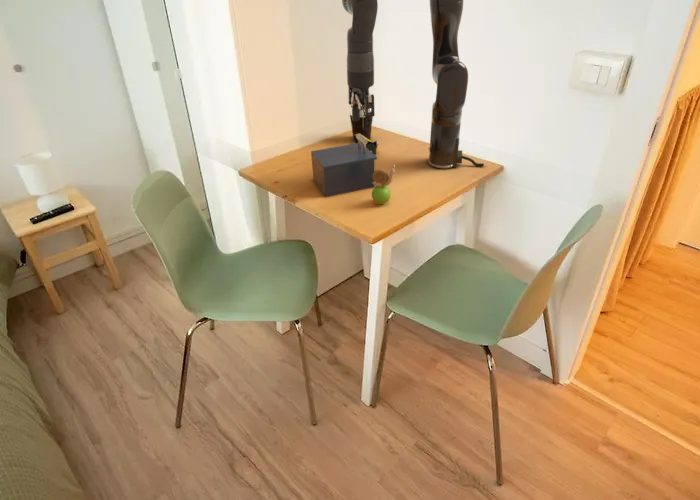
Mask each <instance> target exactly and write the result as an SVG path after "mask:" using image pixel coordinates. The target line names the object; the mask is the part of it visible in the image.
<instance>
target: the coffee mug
mask: <svg viewBox="0 0 700 500" xmlns="http://www.w3.org/2000/svg"><path fill="white" fill-rule="evenodd" d="M364 111H365V110H364ZM373 118H374V116H372V117H371V129H370V130H364V129H363V116H362V111H361V110H360V120H359V121H353V120H352V111H350V112H349V119H350V126H351V133H352V137H353V136H354V135H356V134H359V133H360V134H361V135H363V136H364V137H365V138H367V139H368V140H370V141H371V136H372V127H373V120H374V119H373Z"/></svg>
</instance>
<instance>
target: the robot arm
mask: <svg viewBox="0 0 700 500" xmlns="http://www.w3.org/2000/svg"><path fill="white" fill-rule="evenodd" d="M378 2H379V1H378V0H341V4H342V8H343V9H344V11H345V12H346V13H348V14H349V15H352V20H351V27H349V28H348V29H347V33H346V52H347V54H346V77H347V78H346V81H347V82H346V83H347V87H348V88H347V89H348V105H350V109H351V112H352V120H353V121H359V120H360V110H361V111H362V116H363V129H364V130H370V129H371V130H372V128H371V117H372V116H373V117H375V95H374V94H373V93H372V94H371V93H370V88H371V87H374V85H375V55H374V31H375V27H376V22H377V16H378V9H379V7H378V6H379V3H378ZM463 11H464V0H429V12H430V25H431V33H432V47H433V48H432V61H431V62H432V63H431V64H432V65H431V75H432V76H431V77H432V79H433V81H434V84H436V94H435V100H434V102H433V103H432V105H431V106H432V107H431V108H432V109H431V119H430V120H431V122H430V137H429V147H428V162H427V163H428V165H429V166H431V167H432V168H435V169H444V170H445V169H451V168H457V165H458V164H462V163H463V160H466V161H468V162H471V164H472V165H473V166H476V167H484V165H485V164H484V163H481V162H480V163H479V162H476V161H475V160H474V159H472V158H471V157H468V156H465V155H463V150H460V149H459V146H460V135H461V134H460V133H461V123H462V114H463V108H464V106H465V104H466V98H467V92H468V83H469V70H468V68H467V66H466V65H465V64H464V63H463V61H461V60H460V55H459V44H458V37H459V35H458V34H459V31H460V25H461V22H462V16H463ZM364 110H365V111H364Z"/></svg>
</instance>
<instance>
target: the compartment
mask: <svg viewBox="0 0 700 500" xmlns="http://www.w3.org/2000/svg"><path fill="white" fill-rule="evenodd" d="M310 155H311V157H310V158H311V167H312V180H313V181H314V183H315V184H316V186H317V187H318V188H319V190H320V191H321V192H322V194H323V195H324V196H325V198H327V197H332V196H338V195H343V194H346V193H352V192H357V191H362V190H366V189H371V188H372V189H373V188H375V187H376V186H375V185H374V184H373V183H372V182H375V181H374V180H373V177H372V175H373V173H374V172H375V160H371V161H365V162H360V163H355V164H349V165H344V166H339V167H334V168H328V169H323V167H322V166H321V165H320V164H319V162H318V161H317V160H316V159H315V158H314V156H313V155H312V154H311V153H310Z"/></svg>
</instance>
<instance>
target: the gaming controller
mask: <svg viewBox="0 0 700 500" xmlns="http://www.w3.org/2000/svg"><path fill="white" fill-rule="evenodd" d="M356 135H357V134H356ZM356 135H354V136H353V135H352V140H353V142H354V144H355V143H358V139H357V138H356ZM362 136H363V135H362ZM366 139H367V138H366ZM367 140H368V139H367ZM366 148H367V149H369V150H370V151H371V152H372V153H373V154H374V155H375V156H376V155H377V154H378V153H379V141H376V140H375V141H371V139H370V140H368V142H367V144H366Z"/></svg>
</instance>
